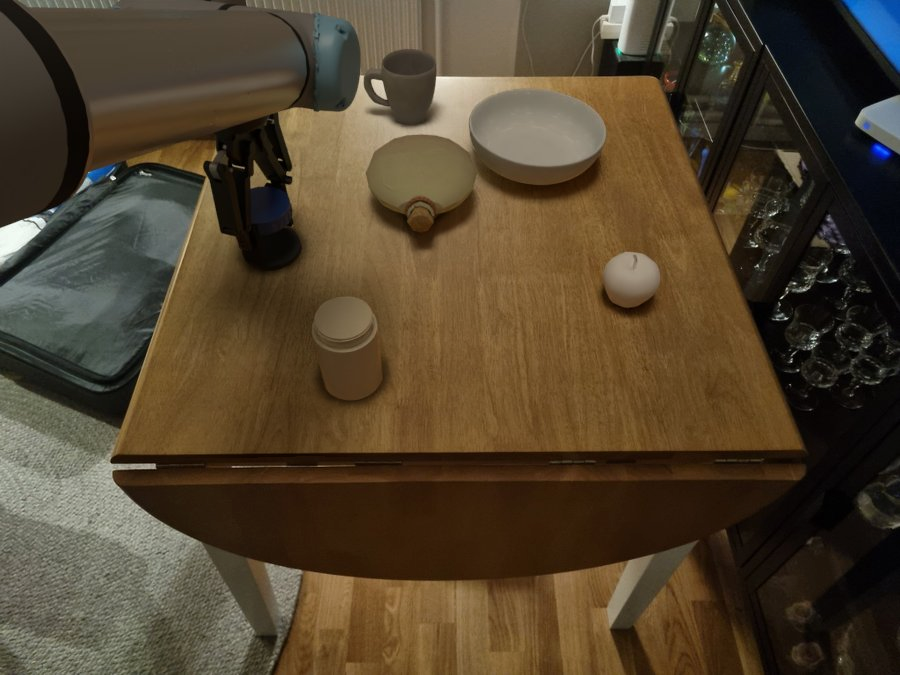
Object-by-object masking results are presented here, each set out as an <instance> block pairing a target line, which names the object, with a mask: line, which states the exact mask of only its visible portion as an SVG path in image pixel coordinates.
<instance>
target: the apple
mask: <svg viewBox="0 0 900 675" xmlns="http://www.w3.org/2000/svg"><path fill="white" fill-rule="evenodd" d="M602 284H603V286H604V290H605V292H606V295H607V297H608V299H609V300H610V302H612V304H614V305H617V306H618V307H622V308H624V309H625V308H626V309H629V308H635V307H639V306H640V305H642V304H644V303H645V302H647V301H648V300H650V299H651V298H652V297H653V296H654V295H655V294H656V292H657V291H658V290H659V287H660V285H661V272H660V268H659V266H658V265H657V263H656V262H655V261H654V260H652V258H650V257H649V256H647V254H644V253H642V252H635V251H624V252H621V253H619V254H617V255H615V256H613V257H612V258H610V260H608V261H607V263H606V265H605V266H604V269H603V271H602Z"/></svg>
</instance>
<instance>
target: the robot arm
mask: <svg viewBox="0 0 900 675" xmlns="http://www.w3.org/2000/svg"><path fill="white" fill-rule="evenodd" d="M361 58H362V56H361V46H360V41H359V37H358V34H357V31H356V29H355V28H354V26H353V25H352V23H351V22H350V21H348V19H347V20H346V19H344V18H340V17H335V16H330V15H326V14H325V15H324V14H321V13H320V12H315V11H314V12H313V13H309V12H301V11H294V10H285V9H276V8H269V7H268V8H267V7H257V6H249V5H248V4H247V0H119V1H117V2H116V3H115V4H113V5H112V6H109V7H108V8H107V7H106V8H104V7H103V8H101V7H45V6H43V7H42V6H41V7H40V6H39V7H36V6H35V7H33V6H32V7H31V6H27V5H25V4H24V3H23V2H22V1H20V0H0V229H2V228H5V227H8V226H10V225H12V224H15V223H18V222H20V221H23V220H26V219H29V218H31V217H34V216H37V215H39V214H42V213H45V212H48V211H50V210H53V209H55V208H58V207H60V206H61V205H63V204H65V203H67V202H68V201H70V199H71V198H73V197H74V196H75V195H76V193H77V192H78V191H79V190H80V189H81V187H82V186H83V185H84V182H85V181H86V178H87V177H88V175H89V173H91V172H94V171H98V170H100V169H104V168H106V167H110V166H113V165H117V164H119V163H123V162H125V161H129V160H132V159H134V158H138V157H141V156H144V155H148V154H151V153H154V152H158V151H160V150H163V149H167V148H170V147H173V146H176V145H178V144H179V145H180V144H182V143H185V142H188V141H192V140H195V139H198V138H201V137H204V136H208V135H211V134H213V135H214V138H215V150H216V155H215V156H214V158H213V160H204V161H203V164H202V169H203V171H204V173H205V175H206V177H207V178H208V181H209V186H210V190H211V194H212V200H213V204H214V208H215V212H216V213H215V214H216V219H217V222H218V227H219V231H220V233H221V235H227V236H230V237H231V236H232V237H235V238H236V242H237V245H238V248H239V249H240V250H241V253H242V252H243V255H244V258H245V260H244V261H245V263H247V262H248V263H252V264H256V265H260V266H265V264H266V263H267V262H266V258H265V255H264V251H263V247H262V244H261V240H260V237H259V233H258V229H257V226H256V225H254V224H252V223H251V177H253V176H254V174H255V164H256V165H257V167H258V168H259V170H260V171H261V173H262V174H263V176H264V177H265V179H266V180H267V181H266V183H264V186H267V187H274V188H278V189H280V190H282V191H284V192H285V193H286V194H287V195H288V196H289V193H288V190H287V186H291V185H292V183H293V176H292V175H288V174H287V173H290V172H292V170H293V163H292V160H291V156H290V154H289V150H288V147H287V143H286V141H285V137H284V134H283V131H282V128H281V124H280V116H279V113H280V112H283V111H288V110H291V109H306V110H307V109H308V110H313V112H315V113H319V112H320V111H321V112H334V113H340V112H344V111H347V109H349V107H351V105H352V104H353V102H354V100H355V97H356V95H357V92H358V88H359V84H360V79H361V78H360V77H361V64H362V63H361V62H362V61H361V60H362V59H361ZM294 224H295V223H294V220H293V217H292V218H291V220H290V222H289V223H288V224H287V226H286V227H289V228H292V227H293V225H294ZM243 255H242V256H243ZM244 258H243V259H244ZM248 263H247V264H248Z"/></svg>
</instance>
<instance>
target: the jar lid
mask: <svg viewBox="0 0 900 675" xmlns="http://www.w3.org/2000/svg"><path fill="white" fill-rule="evenodd" d="M293 212H294V210H293V206H292V203H291V200H290V197H289V194H288V195H287V194H286V193H285V192H284V191H282V190H280V189H278V188H274V187H267V186H255V187H252V188H251V223H252V224H254V225H256V226H257V229H258V233H259V235H267V234H272V233H275V232H277V231H279V230H281V229H283V228H286V227H288V226H287V224H288V223H289V222H290V220H291V218H292V219H293Z"/></svg>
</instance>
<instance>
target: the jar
mask: <svg viewBox="0 0 900 675" xmlns="http://www.w3.org/2000/svg"><path fill="white" fill-rule="evenodd" d="M311 335H312V339H313V344H314V348H315V352H316V357H317V361H318V365H319V369H320V374H321V377H322V383H323V386H324V388H325V389H326V391H327V392H328V393H329V394H330V395H331V396H333V397H335V398H337V399H339V400H342V401H358V400H363V399H365V398H367V397H369V396H371V395H372V394H374V393H375V392H376V390H378V388H380V385H381V383H382V381H383V376H384V373H383V363H382V353H381V345H380V344H381V343H380V335H379V325H378V320H377V317H376V316H375V313H373V310H372V308H371V306H370V305H369V303H367V302H366V301H365V300H362V299H361V298H358V297H356V296H350V295H342V296H335V297H332V298H330V299H328V300H326V301H324V302H323V303H322V304H320V306H319V307H317V310H316V311H315V314H314V318H313V322H312V324H311Z"/></svg>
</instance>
